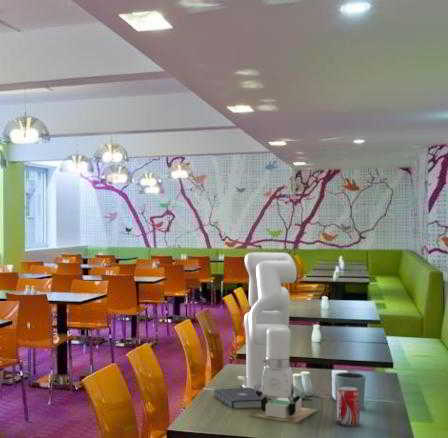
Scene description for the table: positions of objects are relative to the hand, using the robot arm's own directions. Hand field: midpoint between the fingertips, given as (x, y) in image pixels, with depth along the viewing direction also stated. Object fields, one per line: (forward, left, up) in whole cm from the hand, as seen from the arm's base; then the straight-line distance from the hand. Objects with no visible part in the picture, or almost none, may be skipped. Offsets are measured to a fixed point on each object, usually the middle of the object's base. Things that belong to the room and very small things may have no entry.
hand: (278, 412), depth 269 cm
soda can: (+22, +6, -2) cm, 23 cm away
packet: (0, +6, -1) cm, 6 cm away
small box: (+9, +42, -2) cm, 43 cm away
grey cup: (+16, +30, -2) cm, 34 cm away
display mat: (0, +7, -2) cm, 7 cm away
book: (-19, +14, -2) cm, 23 cm away
